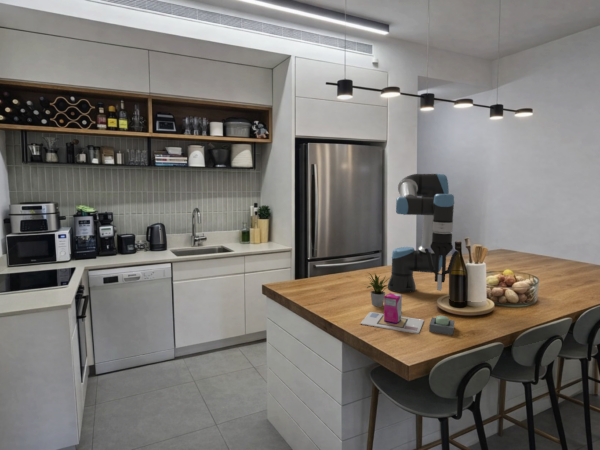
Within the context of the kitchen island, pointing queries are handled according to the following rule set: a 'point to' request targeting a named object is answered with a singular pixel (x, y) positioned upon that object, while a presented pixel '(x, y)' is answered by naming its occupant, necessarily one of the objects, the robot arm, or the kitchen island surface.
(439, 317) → the button
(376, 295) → the house plant
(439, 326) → the soap dish
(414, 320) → the picture sheet
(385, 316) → the supplement box
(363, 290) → the kitchen island surface
